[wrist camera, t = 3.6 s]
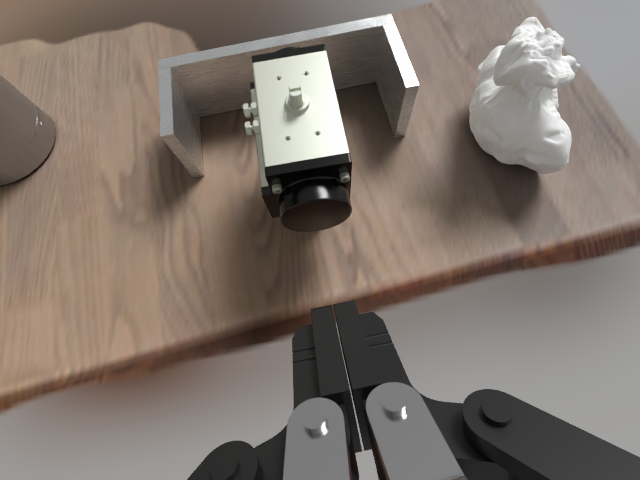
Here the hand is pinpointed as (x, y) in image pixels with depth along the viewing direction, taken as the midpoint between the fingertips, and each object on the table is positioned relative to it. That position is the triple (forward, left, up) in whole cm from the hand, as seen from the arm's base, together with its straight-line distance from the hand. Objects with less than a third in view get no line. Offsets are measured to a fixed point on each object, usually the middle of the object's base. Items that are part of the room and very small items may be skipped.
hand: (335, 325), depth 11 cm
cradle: (0, +21, -14) cm, 26 cm away
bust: (+18, +15, -15) cm, 28 cm away
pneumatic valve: (0, +13, -15) cm, 20 cm away
